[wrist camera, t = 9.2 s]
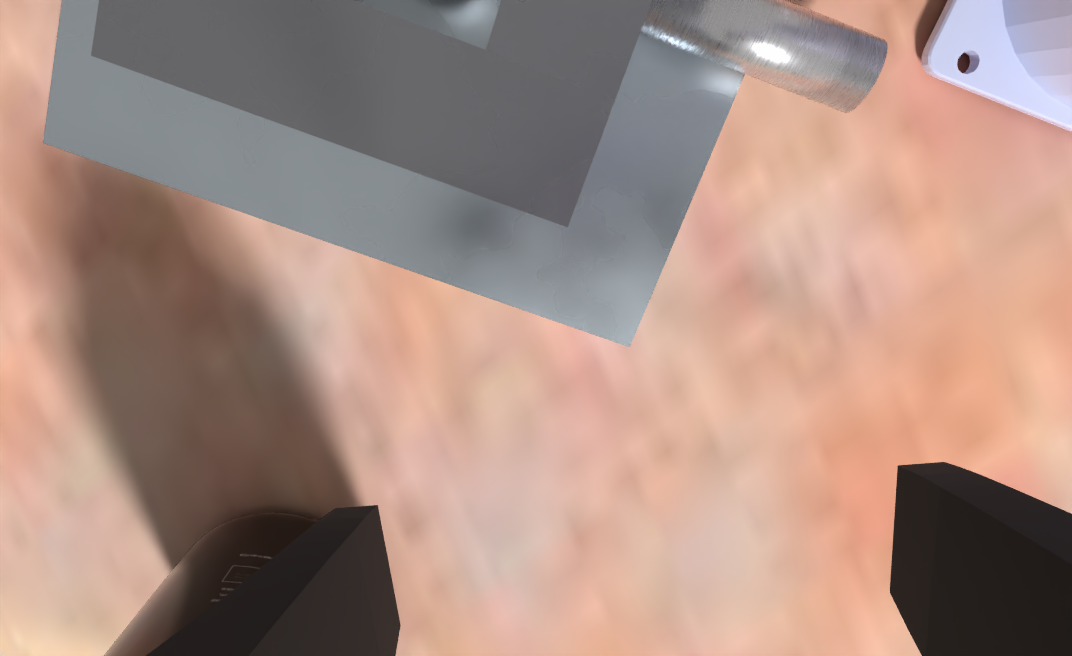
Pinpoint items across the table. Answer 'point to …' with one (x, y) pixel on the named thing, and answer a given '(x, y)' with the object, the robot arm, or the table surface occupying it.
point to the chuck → (447, 124)
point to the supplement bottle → (208, 576)
